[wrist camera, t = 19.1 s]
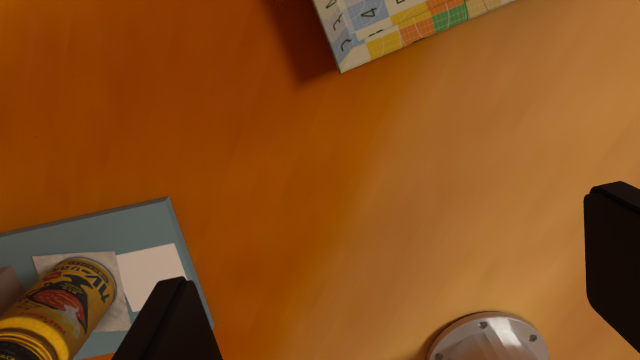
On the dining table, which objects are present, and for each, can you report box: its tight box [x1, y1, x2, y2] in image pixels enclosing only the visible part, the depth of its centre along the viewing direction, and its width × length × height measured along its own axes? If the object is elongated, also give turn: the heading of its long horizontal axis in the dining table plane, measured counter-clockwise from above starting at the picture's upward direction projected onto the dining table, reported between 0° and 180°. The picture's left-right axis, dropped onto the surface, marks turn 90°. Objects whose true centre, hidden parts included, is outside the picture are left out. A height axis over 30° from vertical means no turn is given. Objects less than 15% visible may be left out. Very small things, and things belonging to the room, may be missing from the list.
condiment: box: [0, 251, 131, 360], centre depth 35 cm, size 7×8×12 cm
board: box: [0, 196, 214, 360], centre depth 40 cm, size 14×24×5 cm, turn 102°
